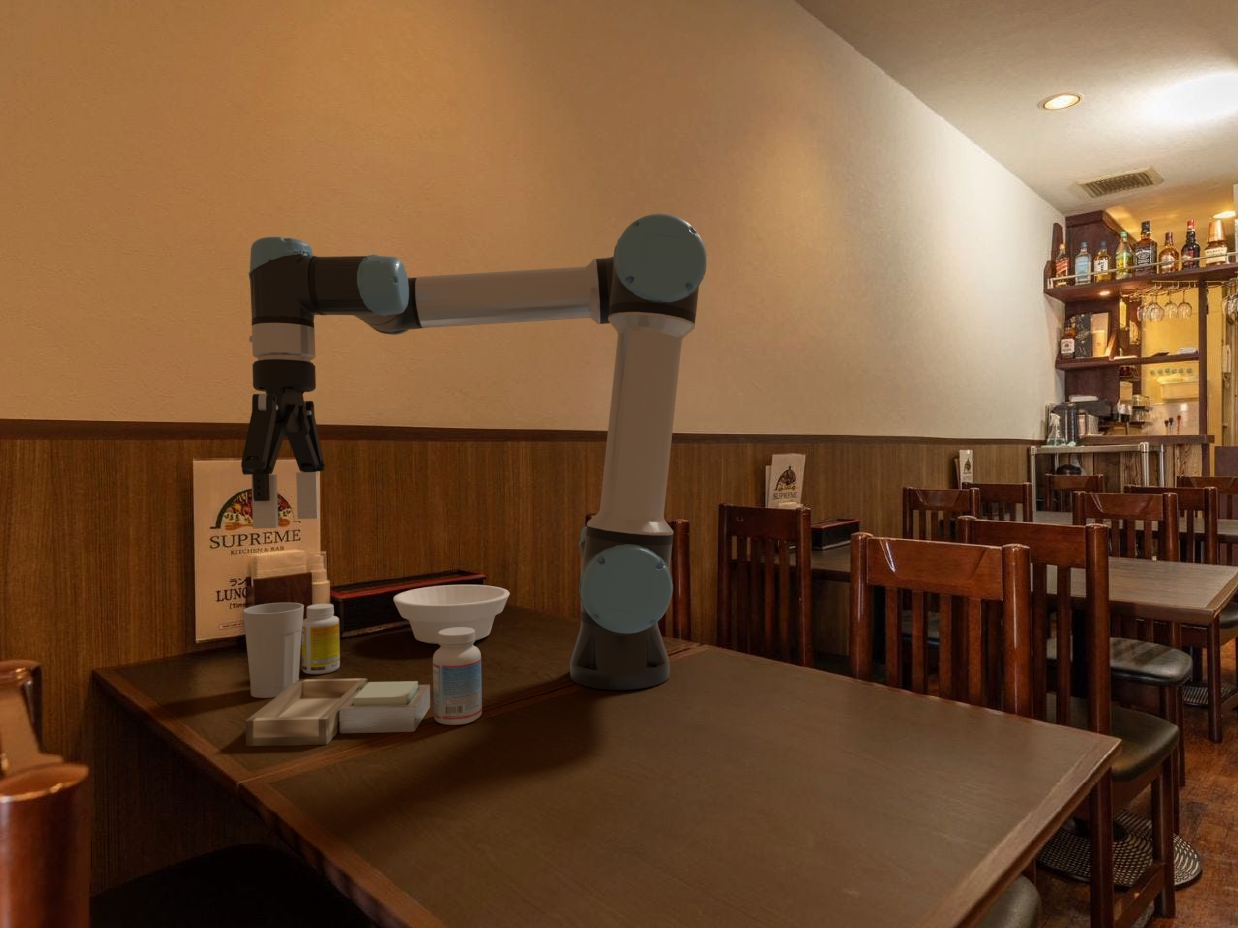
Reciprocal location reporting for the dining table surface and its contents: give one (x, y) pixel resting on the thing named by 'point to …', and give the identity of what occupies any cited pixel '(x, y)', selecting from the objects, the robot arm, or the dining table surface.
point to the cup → (273, 646)
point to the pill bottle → (457, 677)
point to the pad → (386, 693)
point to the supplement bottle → (320, 640)
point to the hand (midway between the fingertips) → (288, 523)
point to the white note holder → (385, 714)
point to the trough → (302, 713)
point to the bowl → (451, 609)
